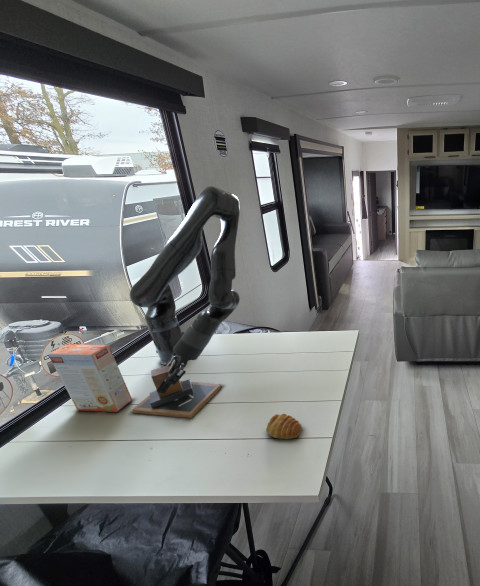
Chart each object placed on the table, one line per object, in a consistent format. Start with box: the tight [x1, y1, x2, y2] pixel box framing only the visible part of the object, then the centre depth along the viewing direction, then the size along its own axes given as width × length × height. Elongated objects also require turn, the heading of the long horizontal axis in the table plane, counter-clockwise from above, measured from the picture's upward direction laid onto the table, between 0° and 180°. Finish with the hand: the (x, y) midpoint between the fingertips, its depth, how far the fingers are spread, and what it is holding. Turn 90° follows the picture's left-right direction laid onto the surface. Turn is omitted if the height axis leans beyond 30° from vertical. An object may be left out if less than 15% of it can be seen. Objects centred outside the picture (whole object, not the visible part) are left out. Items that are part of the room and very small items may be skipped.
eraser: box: [149, 365, 193, 408], centre depth 97 cm, size 6×11×10 cm, turn 127°
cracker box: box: [47, 343, 133, 413], centre depth 94 cm, size 14×6×21 cm, turn 84°
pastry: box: [265, 413, 303, 440], centre depth 85 cm, size 9×7×4 cm
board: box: [131, 380, 222, 419], centre depth 99 cm, size 14×20×1 cm
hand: (160, 388), depth 96 cm, fingers closed on eraser, 4 cm apart
